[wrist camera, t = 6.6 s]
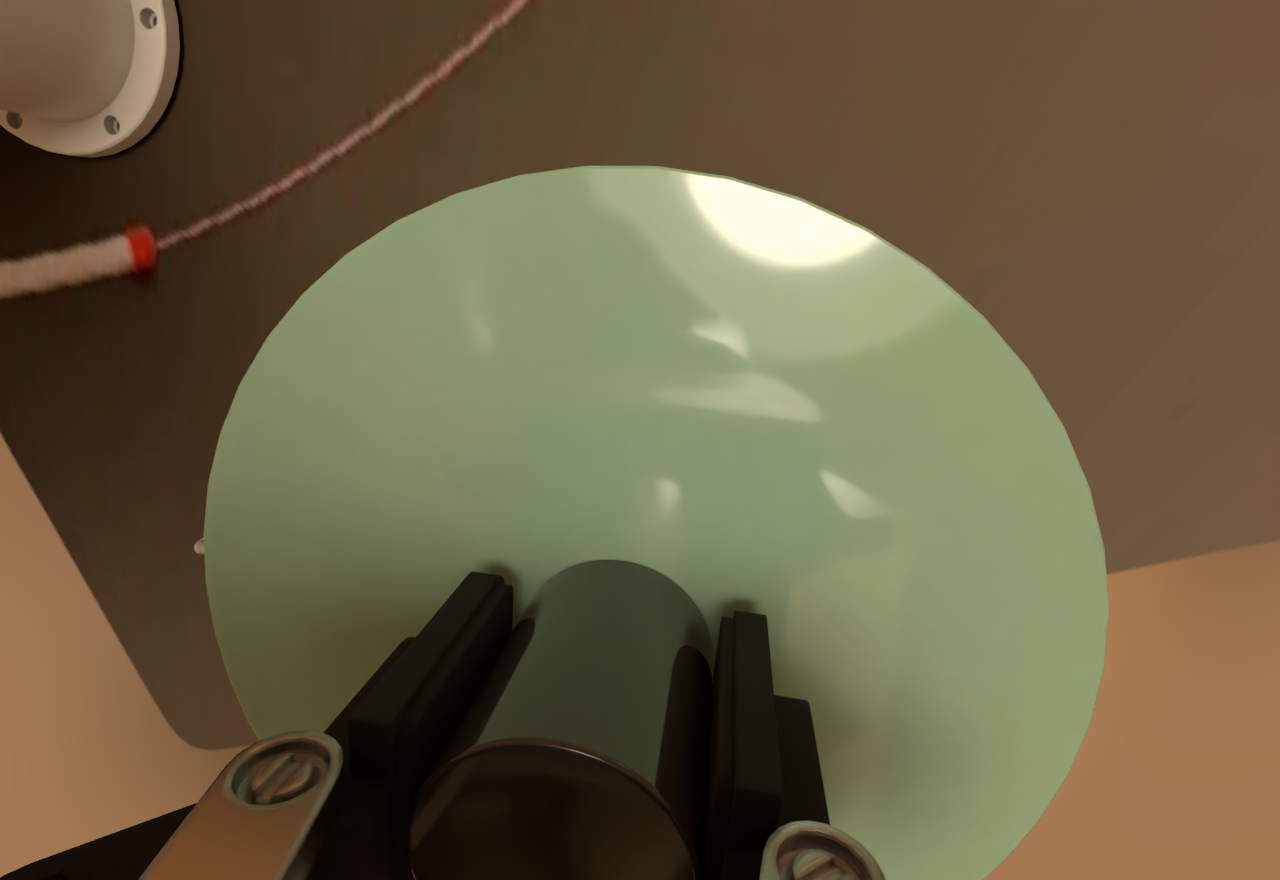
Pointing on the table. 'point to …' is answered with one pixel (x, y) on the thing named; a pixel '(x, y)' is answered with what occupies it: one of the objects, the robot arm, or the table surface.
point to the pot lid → (664, 521)
